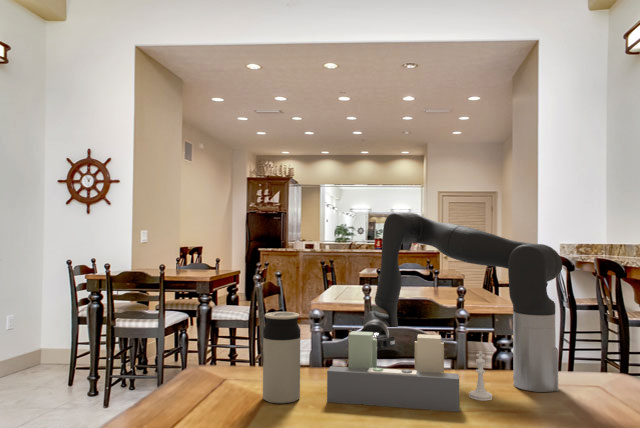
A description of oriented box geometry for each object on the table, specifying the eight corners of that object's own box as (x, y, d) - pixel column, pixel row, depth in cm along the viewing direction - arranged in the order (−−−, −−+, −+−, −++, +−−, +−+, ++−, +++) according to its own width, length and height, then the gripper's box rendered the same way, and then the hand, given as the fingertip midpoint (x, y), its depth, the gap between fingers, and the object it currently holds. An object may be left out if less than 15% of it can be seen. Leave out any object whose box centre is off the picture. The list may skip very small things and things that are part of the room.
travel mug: (306, 396, 116) (306, 313, 117) (288, 406, 109) (289, 318, 109) (274, 391, 119) (275, 310, 120) (255, 401, 112) (256, 315, 113)
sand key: (443, 383, 119) (443, 334, 119) (444, 390, 114) (444, 338, 114) (414, 382, 120) (414, 333, 121) (413, 388, 115) (414, 337, 116)
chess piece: (493, 401, 113) (493, 354, 113) (469, 399, 114) (469, 352, 114) (491, 394, 118) (490, 349, 118) (468, 393, 119) (468, 348, 119)
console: (456, 394, 118) (456, 362, 118) (459, 411, 106) (459, 376, 107) (337, 385, 124) (337, 355, 124) (327, 401, 112) (327, 368, 112)
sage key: (376, 379, 122) (376, 331, 122) (374, 385, 117) (374, 335, 117) (349, 377, 123) (349, 330, 124) (345, 384, 118) (345, 334, 119)
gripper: (351, 320, 150) (341, 331, 133) (398, 322, 147) (394, 334, 130) (351, 346, 150) (340, 361, 133) (398, 349, 147) (394, 364, 130)
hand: (367, 347), depth 132 cm, fingers closed
